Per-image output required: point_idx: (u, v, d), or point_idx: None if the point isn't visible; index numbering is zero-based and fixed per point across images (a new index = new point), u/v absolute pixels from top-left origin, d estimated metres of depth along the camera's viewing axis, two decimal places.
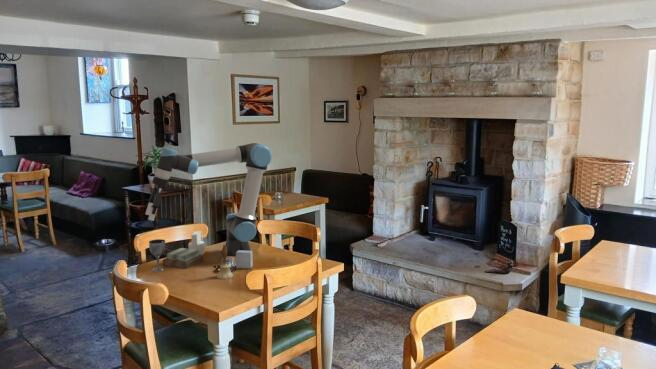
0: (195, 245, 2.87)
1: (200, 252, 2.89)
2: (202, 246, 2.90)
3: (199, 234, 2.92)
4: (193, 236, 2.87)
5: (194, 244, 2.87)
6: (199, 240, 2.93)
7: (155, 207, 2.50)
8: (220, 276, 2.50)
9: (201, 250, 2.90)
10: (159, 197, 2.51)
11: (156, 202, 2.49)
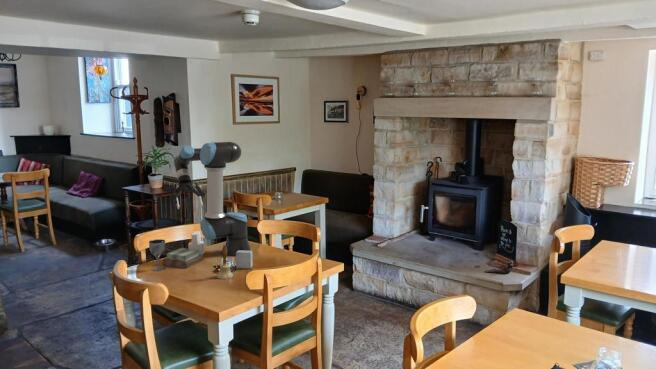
0: (195, 245, 2.87)
1: (200, 252, 2.89)
2: (202, 246, 2.90)
3: (199, 234, 2.92)
4: (193, 236, 2.87)
5: (194, 244, 2.87)
6: (199, 240, 2.93)
7: (172, 198, 2.96)
8: (220, 276, 2.50)
9: (201, 250, 2.90)
10: (173, 190, 2.99)
11: (171, 195, 2.97)
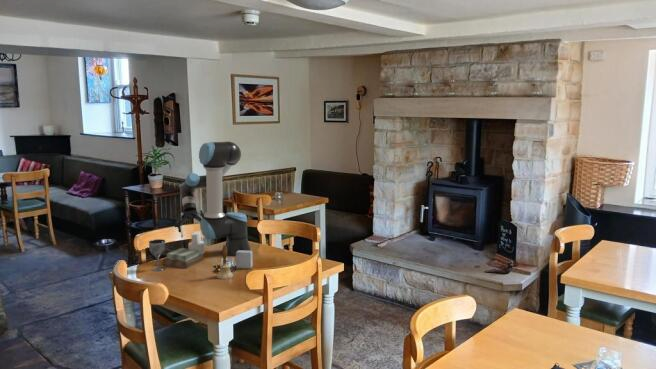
0: (195, 245, 2.87)
1: (200, 252, 2.89)
2: (202, 246, 2.90)
3: (199, 234, 2.92)
4: (193, 236, 2.87)
5: (194, 244, 2.87)
6: (199, 240, 2.93)
7: (176, 226, 2.95)
8: (220, 276, 2.50)
9: (201, 250, 2.90)
10: (177, 218, 2.98)
11: (175, 223, 2.97)
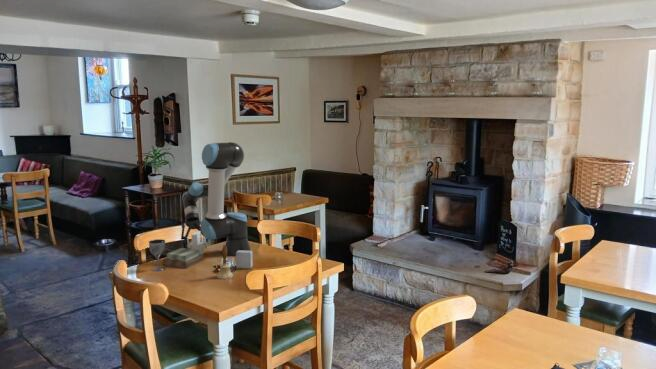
0: (195, 245, 2.87)
1: (200, 252, 2.89)
2: (202, 246, 2.90)
3: (199, 234, 2.92)
4: (193, 236, 2.87)
5: (194, 244, 2.87)
6: (199, 240, 2.92)
7: (183, 238, 2.90)
8: (220, 276, 2.50)
9: (201, 250, 2.90)
10: (182, 230, 2.92)
11: (181, 235, 2.91)
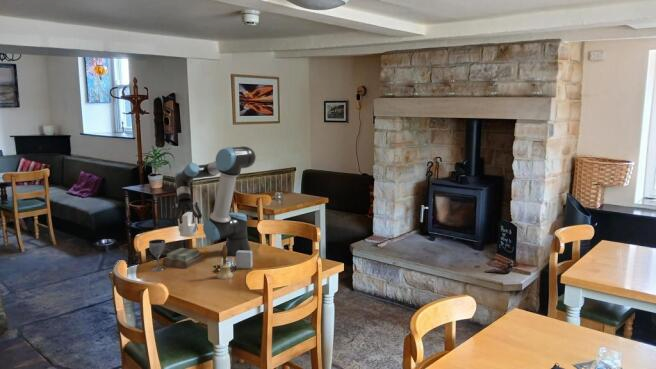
0: (186, 227, 2.80)
1: (191, 234, 2.81)
2: (193, 227, 2.82)
3: (190, 215, 2.84)
4: (184, 217, 2.79)
5: (185, 226, 2.79)
6: (190, 221, 2.85)
7: (174, 219, 2.82)
8: (220, 276, 2.50)
9: (192, 231, 2.82)
10: (173, 211, 2.85)
11: (172, 216, 2.84)
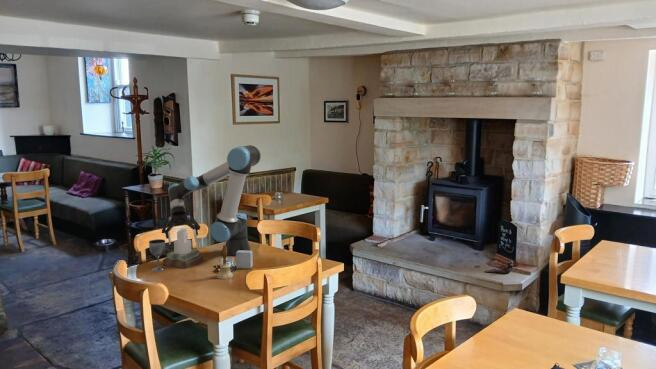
0: (181, 244, 2.69)
1: (186, 251, 2.70)
2: (188, 244, 2.71)
3: (185, 232, 2.74)
4: (179, 234, 2.68)
5: (179, 243, 2.69)
6: (185, 238, 2.74)
7: (163, 232, 2.71)
8: (220, 276, 2.50)
9: (187, 249, 2.71)
10: None
11: None
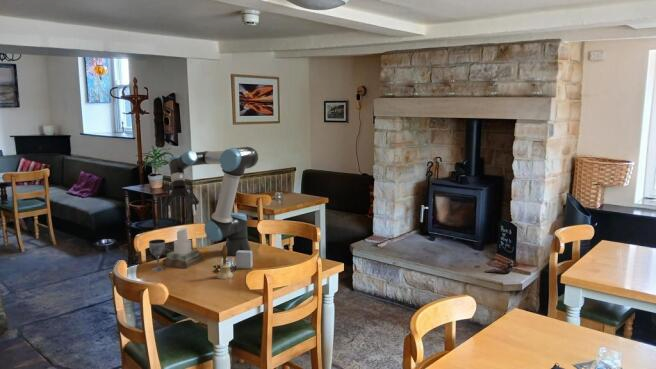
0: (181, 244, 2.69)
1: (186, 251, 2.70)
2: (188, 244, 2.71)
3: (185, 232, 2.74)
4: (179, 234, 2.68)
5: (179, 243, 2.68)
6: (185, 238, 2.74)
7: (164, 205, 2.82)
8: (220, 276, 2.50)
9: (187, 249, 2.71)
10: None
11: None
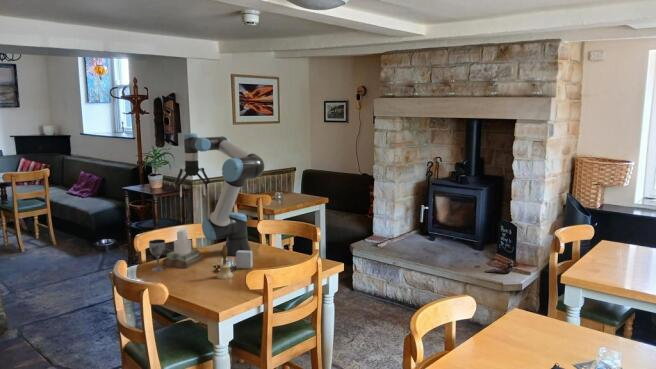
0: (181, 244, 2.69)
1: (186, 251, 2.70)
2: (188, 244, 2.71)
3: (185, 232, 2.74)
4: (179, 234, 2.68)
5: (179, 243, 2.68)
6: (185, 238, 2.74)
7: None
8: (220, 276, 2.50)
9: (187, 249, 2.71)
10: (178, 176, 2.92)
11: None
